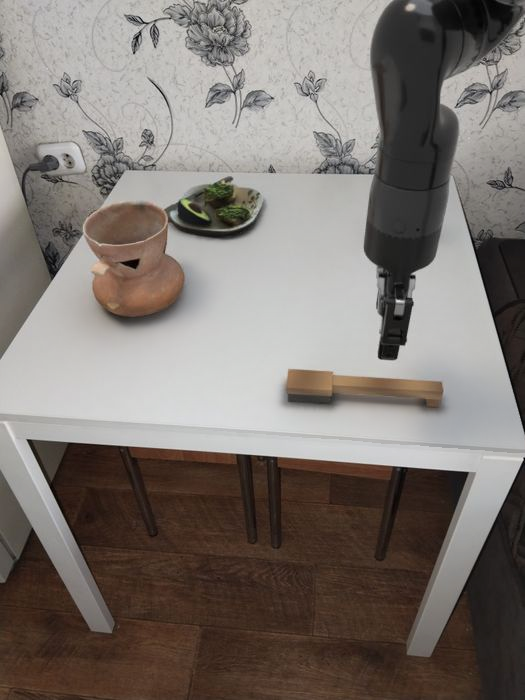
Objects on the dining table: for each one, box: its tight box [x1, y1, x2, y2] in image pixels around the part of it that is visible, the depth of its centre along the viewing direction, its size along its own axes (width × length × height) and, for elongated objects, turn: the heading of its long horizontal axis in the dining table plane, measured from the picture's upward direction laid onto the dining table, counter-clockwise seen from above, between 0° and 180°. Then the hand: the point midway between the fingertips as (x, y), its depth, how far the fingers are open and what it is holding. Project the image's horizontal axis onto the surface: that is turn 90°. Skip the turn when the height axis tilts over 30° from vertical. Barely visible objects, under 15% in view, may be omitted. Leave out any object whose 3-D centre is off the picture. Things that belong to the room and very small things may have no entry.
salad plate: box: [163, 175, 265, 238], centre depth 113 cm, size 19×18×5 cm
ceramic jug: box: [82, 199, 186, 318], centre depth 91 cm, size 18×14×14 cm
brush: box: [285, 368, 444, 408], centre depth 78 cm, size 20×3×3 cm, turn 83°
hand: (385, 332), depth 70 cm, fingers open, 8 cm apart
